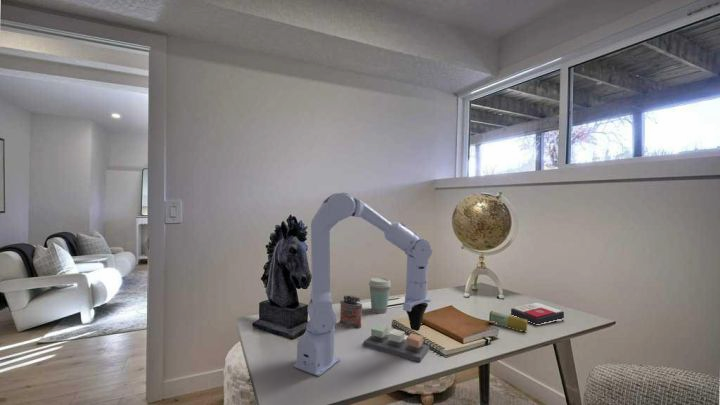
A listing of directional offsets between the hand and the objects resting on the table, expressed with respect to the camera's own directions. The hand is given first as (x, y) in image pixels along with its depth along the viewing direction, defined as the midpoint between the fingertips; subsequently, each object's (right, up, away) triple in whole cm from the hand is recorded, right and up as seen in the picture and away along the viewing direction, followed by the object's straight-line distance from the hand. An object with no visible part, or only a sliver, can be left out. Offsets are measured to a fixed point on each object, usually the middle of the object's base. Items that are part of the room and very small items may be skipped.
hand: (415, 329), depth 86 cm
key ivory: (-5, -4, +3) cm, 7 cm away
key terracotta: (0, -4, 0) cm, 4 cm away
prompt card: (-2, -7, +9) cm, 11 cm away
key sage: (-10, -4, +5) cm, 12 cm away
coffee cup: (-8, -7, +33) cm, 34 cm away
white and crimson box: (+52, -9, +30) cm, 60 cm away
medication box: (+36, -8, +21) cm, 42 cm away
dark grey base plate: (-5, -6, +3) cm, 9 cm away
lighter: (-19, -6, +18) cm, 27 cm away
